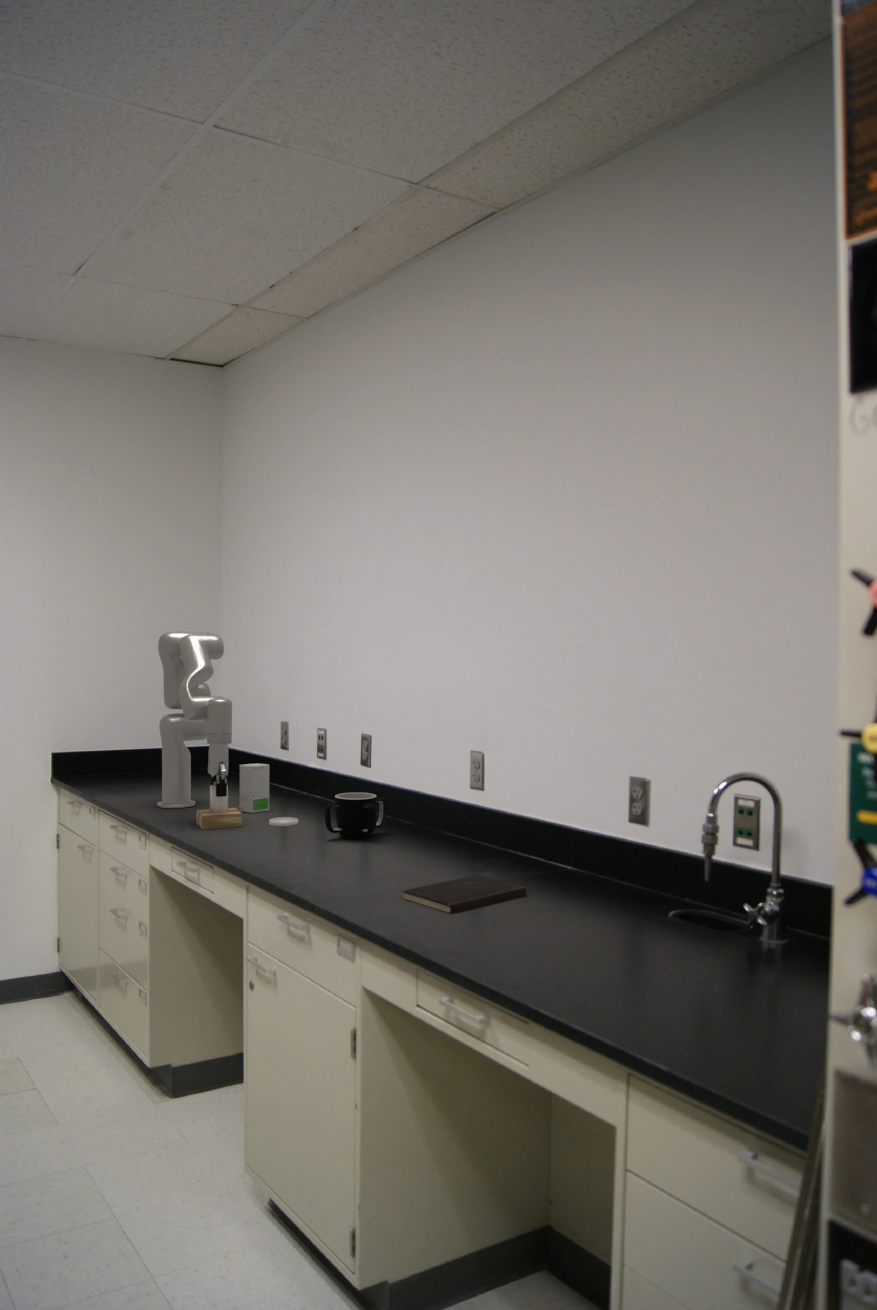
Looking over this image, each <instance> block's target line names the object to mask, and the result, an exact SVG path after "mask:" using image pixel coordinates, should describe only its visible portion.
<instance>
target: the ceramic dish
mask: <svg viewBox="0 0 877 1310" xmlns="http://www.w3.org/2000/svg"><path fill="white" fill-rule="evenodd" d="M298 824H299V819H298V818H297V817H292V816H283V817H282V816H280V817H272V818H270V819H268V825H269V826H272V827H291V826H297V825H298Z"/></svg>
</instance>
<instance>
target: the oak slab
mask: <svg viewBox="0 0 877 1310" xmlns="http://www.w3.org/2000/svg"><path fill="white" fill-rule="evenodd" d="M196 824H197V825H198V826H199V827H200V828H201V830H212V829H214V830H216V829H227V828H228V829H230V828H243V812H241V811H239V809H238V808H237V807H228V812H225V813H211V812H210V808H205V809H204V808H203V809H196Z"/></svg>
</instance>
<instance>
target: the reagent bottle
mask: <svg viewBox="0 0 877 1310" xmlns="http://www.w3.org/2000/svg"><path fill="white" fill-rule="evenodd" d="M216 783H217V781H215V782H214V785H211V784H210V785H209V809H210V812H211V813H225V812H228V808H229V794H228V793H229V790H228V789H229V787H228V786H229V785H228V784H227V796H223V797H217V796H216Z"/></svg>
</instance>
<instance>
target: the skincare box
mask: <svg viewBox="0 0 877 1310" xmlns="http://www.w3.org/2000/svg"><path fill="white" fill-rule="evenodd" d="M238 810H239V811H240V812H241V813H248V814H249V813H250V814H252V813H253V814H254V813H259V812H260V813H261V812H267V811H270V764H267V763H257V762H256V763H247V764H246V763H245V764H239V809H238Z"/></svg>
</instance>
